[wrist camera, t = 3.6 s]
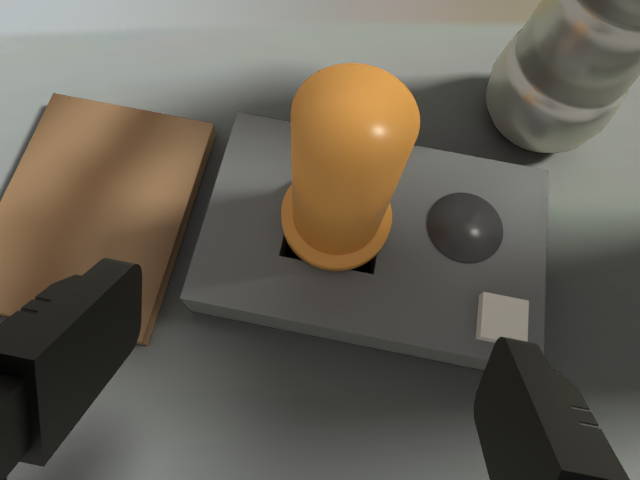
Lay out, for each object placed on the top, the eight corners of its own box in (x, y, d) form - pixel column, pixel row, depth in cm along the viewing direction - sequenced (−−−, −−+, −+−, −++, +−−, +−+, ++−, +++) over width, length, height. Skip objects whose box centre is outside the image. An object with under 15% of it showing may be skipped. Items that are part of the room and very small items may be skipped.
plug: (385, 206, 26) (443, 66, 16) (371, 296, 24) (427, 203, 14) (294, 189, 26) (292, 38, 16) (273, 277, 24) (257, 170, 14)
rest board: (216, 134, 27) (213, 123, 26) (148, 346, 23) (141, 342, 22) (61, 104, 28) (53, 93, 27) (-36, 308, 23) (-50, 303, 22)
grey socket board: (526, 193, 27) (554, 164, 24) (519, 377, 23) (550, 369, 20) (242, 138, 27) (235, 104, 24) (191, 311, 24) (176, 294, 21)
